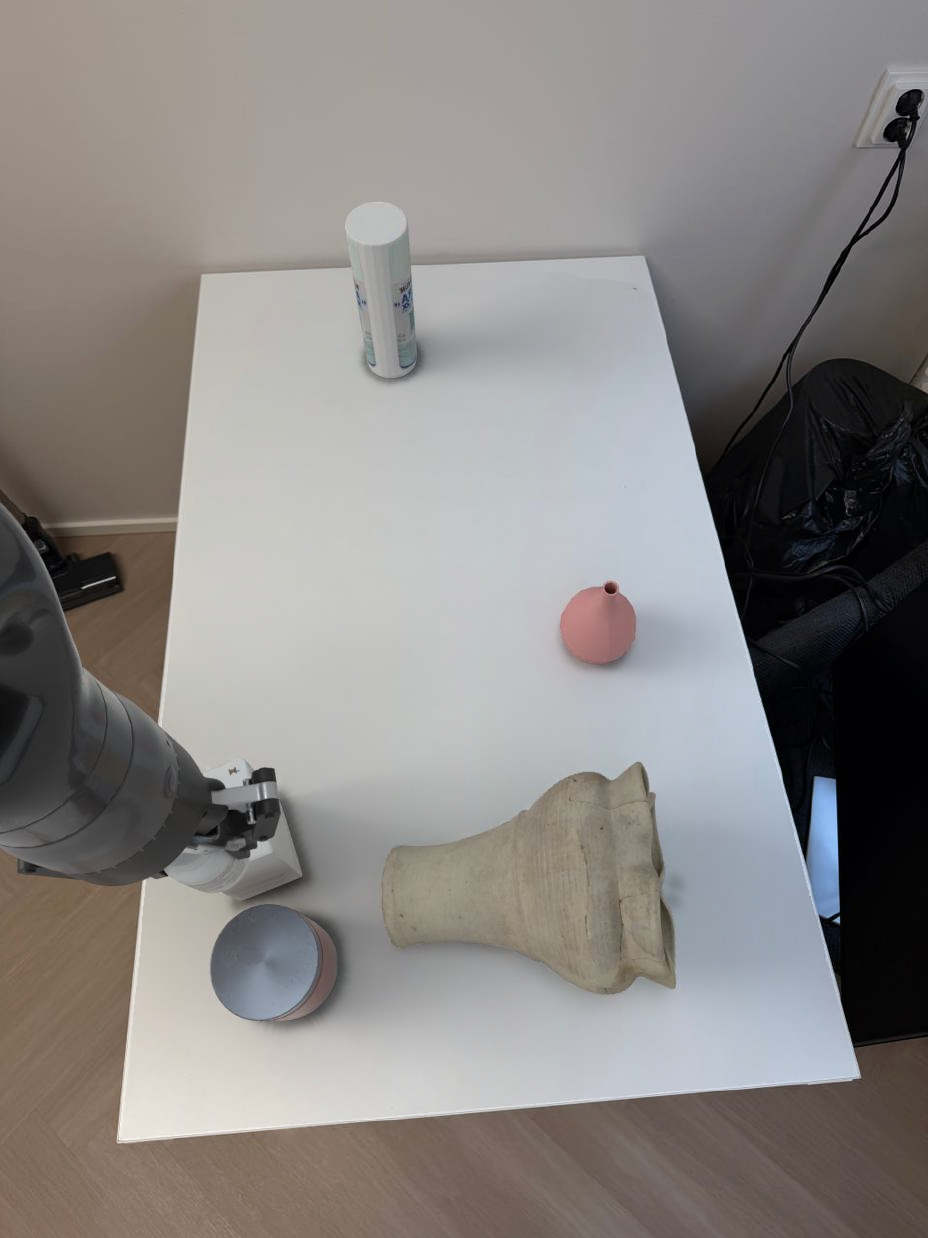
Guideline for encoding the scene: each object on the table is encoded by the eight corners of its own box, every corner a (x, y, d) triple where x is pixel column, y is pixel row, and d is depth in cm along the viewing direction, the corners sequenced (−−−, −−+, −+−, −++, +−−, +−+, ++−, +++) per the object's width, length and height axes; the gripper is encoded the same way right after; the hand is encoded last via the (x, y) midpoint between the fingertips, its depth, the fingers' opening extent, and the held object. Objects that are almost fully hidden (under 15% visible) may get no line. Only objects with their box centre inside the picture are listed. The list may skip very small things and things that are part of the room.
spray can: (370, 337, 106) (349, 198, 88) (421, 341, 106) (411, 202, 88) (362, 377, 103) (339, 242, 85) (415, 381, 103) (403, 247, 85)
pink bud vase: (611, 598, 90) (631, 542, 80) (642, 660, 87) (667, 610, 76) (545, 620, 89) (556, 566, 78) (573, 684, 86) (588, 637, 75)
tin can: (248, 1030, 73) (213, 1033, 63) (238, 928, 76) (204, 916, 66) (345, 1008, 74) (326, 1007, 64) (331, 908, 77) (311, 892, 67)
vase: (298, 1045, 61) (696, 1038, 55) (295, 745, 67) (655, 709, 61) (394, 993, 81) (692, 984, 75) (385, 767, 87) (661, 742, 81)
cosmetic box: (217, 820, 80) (164, 780, 66) (284, 795, 81) (245, 751, 67) (239, 906, 77) (188, 883, 63) (308, 879, 78) (274, 850, 64)
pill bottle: (179, 836, 56) (137, 811, 49) (244, 817, 57) (212, 790, 50) (189, 903, 54) (147, 886, 47) (256, 883, 55) (224, 864, 48)
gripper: (242, 672, 39) (307, 768, 55) (-74, 740, 38) (84, 819, 53) (263, 831, 36) (325, 885, 52) (-81, 911, 35) (89, 942, 50)
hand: (202, 851), depth 52 cm, fingers closed on pill bottle, 4 cm apart
